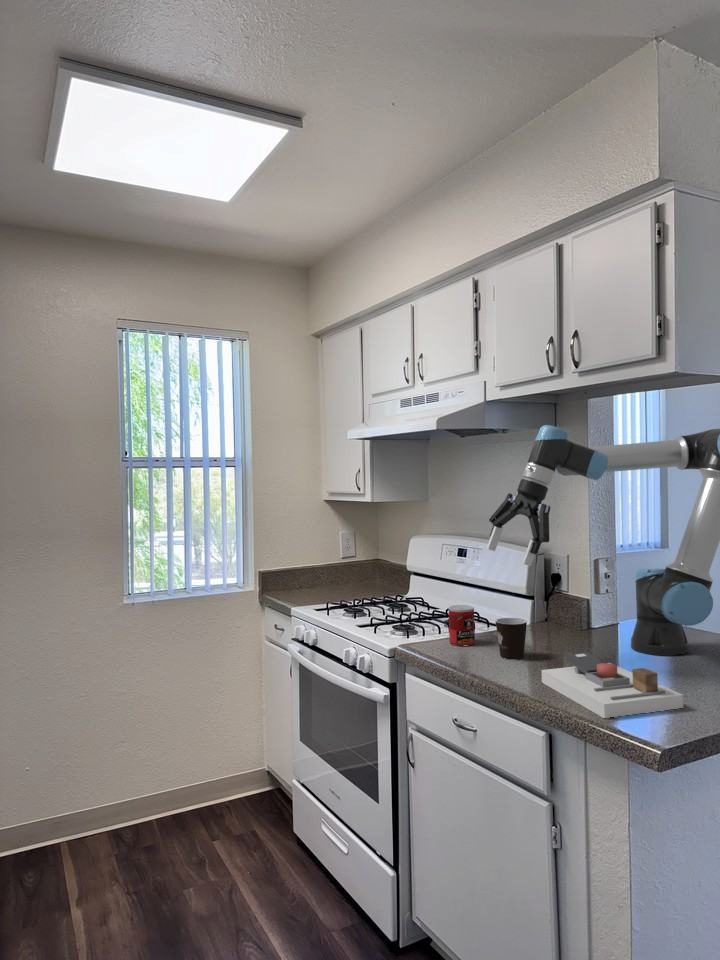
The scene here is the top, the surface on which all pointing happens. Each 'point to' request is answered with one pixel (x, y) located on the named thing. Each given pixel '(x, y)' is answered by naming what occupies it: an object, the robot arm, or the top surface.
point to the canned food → (461, 625)
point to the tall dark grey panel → (584, 661)
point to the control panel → (609, 692)
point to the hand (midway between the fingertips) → (507, 557)
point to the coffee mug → (511, 637)
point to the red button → (607, 670)
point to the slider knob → (645, 680)
